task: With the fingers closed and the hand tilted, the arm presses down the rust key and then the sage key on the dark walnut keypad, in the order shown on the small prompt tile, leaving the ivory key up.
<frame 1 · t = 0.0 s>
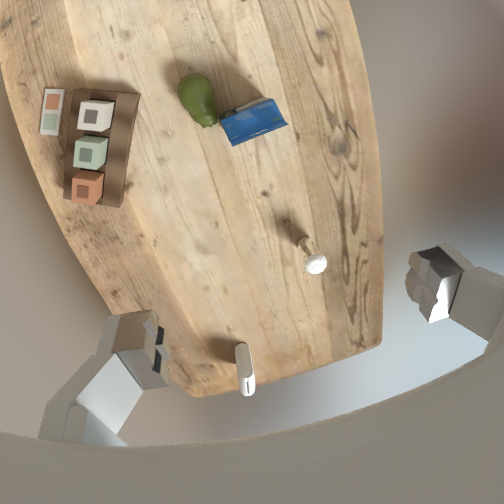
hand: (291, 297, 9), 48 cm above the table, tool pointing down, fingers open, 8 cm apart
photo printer: (242, 353, 82), on the table
key rust: (87, 187, 47), point 5 cm above the table, slide at 0.0 cm
pear: (200, 100, 48), on the table
keypad base: (100, 145, 48), on the table
label tape cartridge: (245, 114, 50), on the table
key sage: (90, 152, 44), point 5 cm above the table, slide at 0.0 cm
key ivory: (95, 115, 41), point 5 cm above the table, slide at 0.0 cm
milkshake: (302, 243, 66), on the table
prompt tile: (52, 111, 43), on the table
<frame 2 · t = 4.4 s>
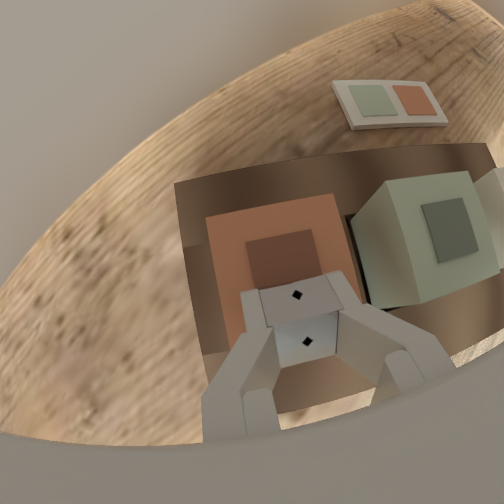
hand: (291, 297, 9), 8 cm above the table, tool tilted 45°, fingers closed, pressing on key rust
key rust: (280, 278, 12), point 5 cm above the table, slide at 0.4 cm, touching gripper
keypad base: (380, 264, 17), on the table
key sage: (423, 243, 12), point 5 cm above the table, slide at 0.0 cm
prompt tile: (392, 104, 19), on the table
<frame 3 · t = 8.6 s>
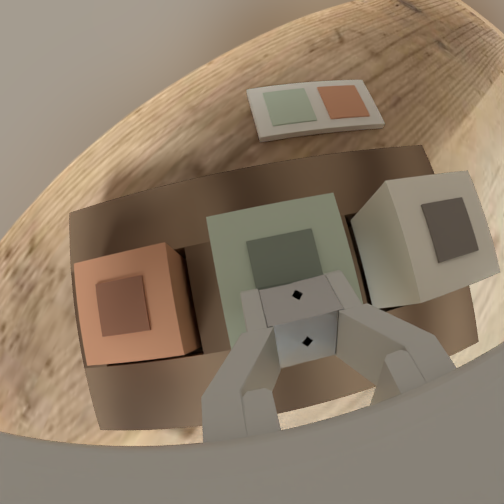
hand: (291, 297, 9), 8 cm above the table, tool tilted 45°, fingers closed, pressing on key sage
key rust: (142, 309, 14), point 3 cm above the table, slide at 2.2 cm
keypad base: (274, 289, 17), on the table
key sage: (281, 277, 12), point 5 cm above the table, slide at 0.4 cm, touching gripper
key ivory: (423, 243, 12), point 5 cm above the table, slide at 0.0 cm
prompt tile: (315, 108, 19), on the table
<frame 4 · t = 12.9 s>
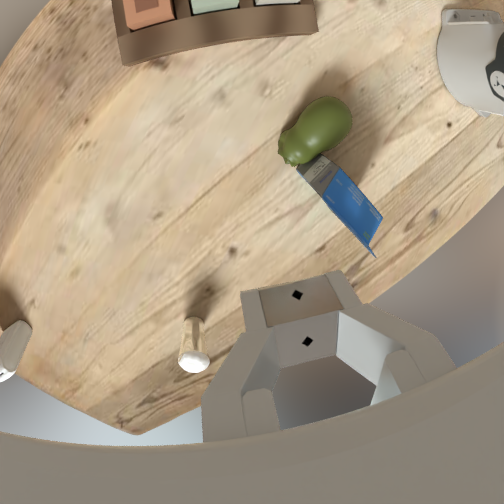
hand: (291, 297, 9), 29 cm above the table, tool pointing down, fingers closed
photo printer: (17, 330, 45), on the table
key rust: (150, 6, 22), point 3 cm above the table, slide at 2.2 cm
pear: (307, 129, 35), on the table
label tape cartridge: (325, 180, 39), on the table
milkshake: (192, 321, 48), on the table
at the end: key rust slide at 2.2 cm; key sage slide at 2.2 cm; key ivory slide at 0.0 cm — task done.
